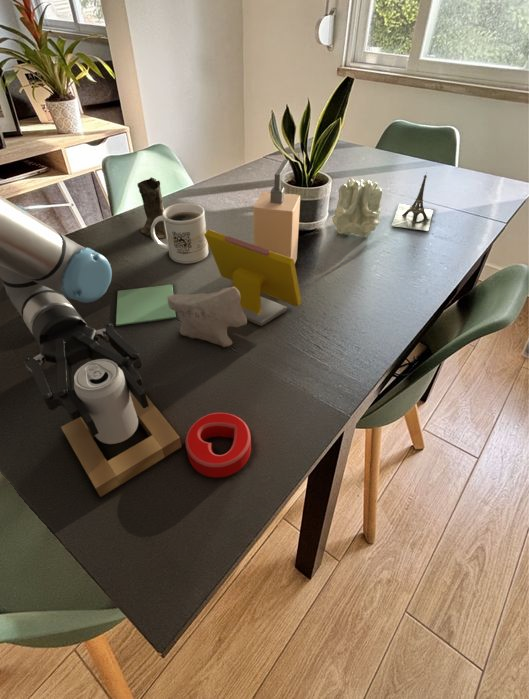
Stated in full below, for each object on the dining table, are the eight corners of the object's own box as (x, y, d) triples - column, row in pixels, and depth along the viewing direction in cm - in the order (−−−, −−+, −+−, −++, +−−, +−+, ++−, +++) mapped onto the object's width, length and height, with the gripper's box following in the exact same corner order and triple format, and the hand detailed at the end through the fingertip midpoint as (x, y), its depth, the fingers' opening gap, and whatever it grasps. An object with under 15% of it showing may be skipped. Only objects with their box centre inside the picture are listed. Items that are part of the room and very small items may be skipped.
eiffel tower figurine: (398, 204, 128) (408, 158, 119) (433, 210, 125) (446, 163, 116) (391, 227, 118) (401, 178, 108) (429, 233, 115) (443, 184, 106)
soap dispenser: (289, 277, 99) (294, 183, 84) (254, 272, 101) (252, 179, 86) (300, 250, 108) (305, 161, 93) (267, 246, 110) (267, 157, 95)
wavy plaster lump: (360, 258, 118) (380, 225, 104) (317, 240, 119) (331, 204, 104) (380, 209, 124) (401, 171, 109) (338, 192, 125) (354, 152, 110)
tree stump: (182, 222, 119) (174, 173, 110) (170, 239, 112) (160, 189, 103) (148, 219, 121) (138, 171, 112) (134, 236, 114) (122, 186, 105)
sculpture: (253, 345, 82) (252, 280, 72) (244, 361, 79) (241, 295, 69) (178, 325, 87) (166, 261, 76) (166, 339, 84) (153, 274, 73)
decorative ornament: (261, 438, 67) (261, 425, 65) (230, 488, 61) (228, 476, 58) (210, 415, 70) (208, 402, 68) (175, 460, 64) (171, 448, 62)
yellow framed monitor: (301, 314, 89) (306, 247, 78) (280, 335, 84) (283, 267, 74) (225, 284, 97) (221, 219, 87) (203, 301, 93) (195, 235, 82)
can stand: (100, 497, 59) (95, 488, 58) (65, 436, 67) (60, 426, 65) (182, 446, 66) (179, 437, 64) (142, 396, 73) (139, 386, 71)
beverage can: (106, 454, 61) (82, 399, 52) (88, 426, 64) (63, 370, 56) (147, 431, 64) (130, 375, 55) (127, 405, 67) (108, 349, 59)
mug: (187, 269, 102) (180, 226, 94) (153, 253, 107) (144, 212, 100) (216, 251, 108) (212, 209, 100) (182, 237, 113) (177, 196, 106)
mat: (116, 326, 87) (115, 324, 86) (118, 292, 95) (117, 290, 95) (175, 318, 88) (175, 316, 88) (172, 285, 97) (172, 284, 97)
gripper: (118, 320, 75) (187, 397, 62) (2, 368, 66) (53, 471, 53) (108, 284, 70) (180, 360, 57) (-20, 332, 61) (31, 435, 48)
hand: (119, 413), depth 55 cm, fingers closed on beverage can, 6 cm apart
